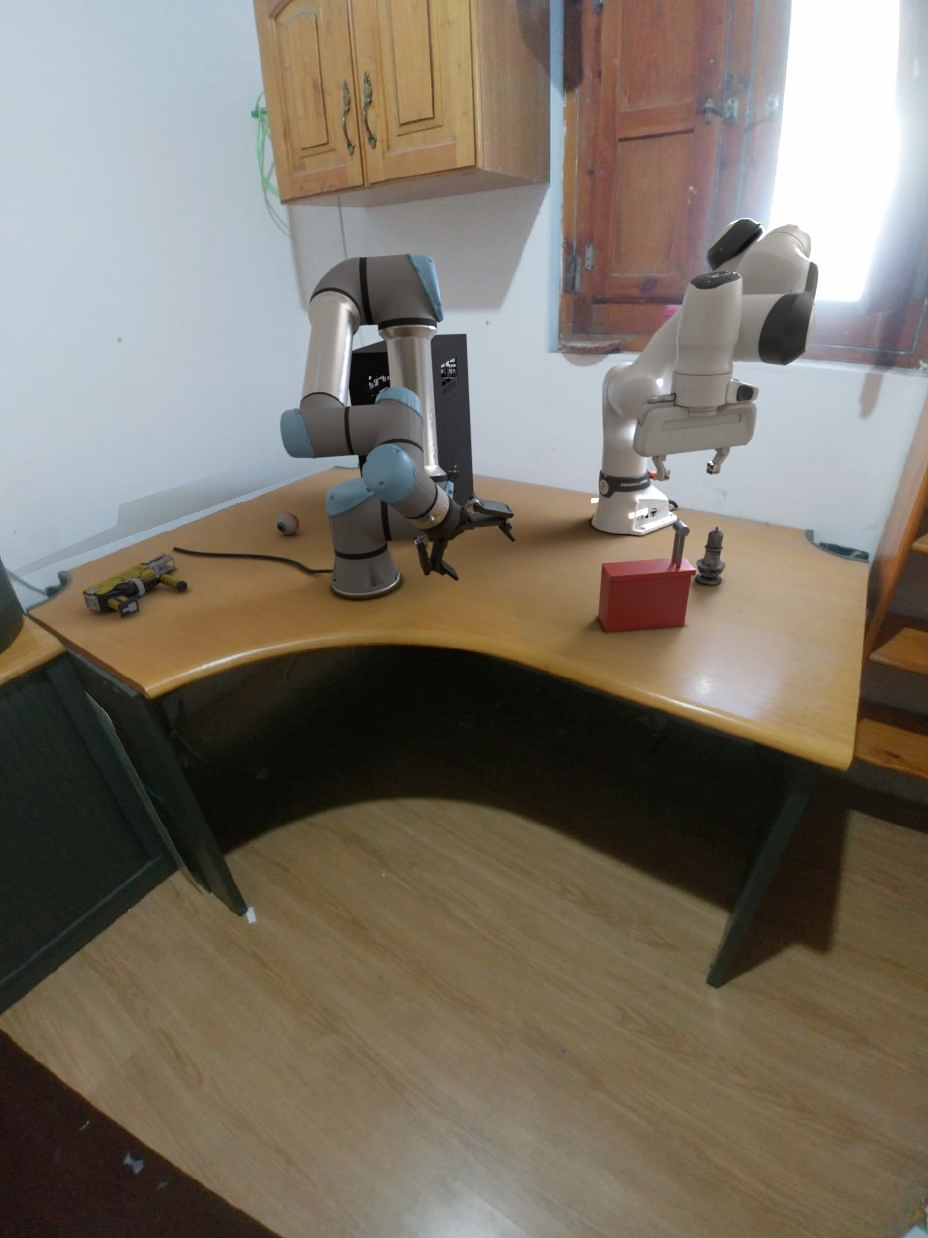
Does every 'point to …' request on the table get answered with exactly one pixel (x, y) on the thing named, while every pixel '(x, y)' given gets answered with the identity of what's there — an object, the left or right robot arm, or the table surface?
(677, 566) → the lid
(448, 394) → the black tall block
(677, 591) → the chest
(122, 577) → the toy gun
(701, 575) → the grey chess bishop
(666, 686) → the table surface
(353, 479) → the left robot arm
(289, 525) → the eyeball
